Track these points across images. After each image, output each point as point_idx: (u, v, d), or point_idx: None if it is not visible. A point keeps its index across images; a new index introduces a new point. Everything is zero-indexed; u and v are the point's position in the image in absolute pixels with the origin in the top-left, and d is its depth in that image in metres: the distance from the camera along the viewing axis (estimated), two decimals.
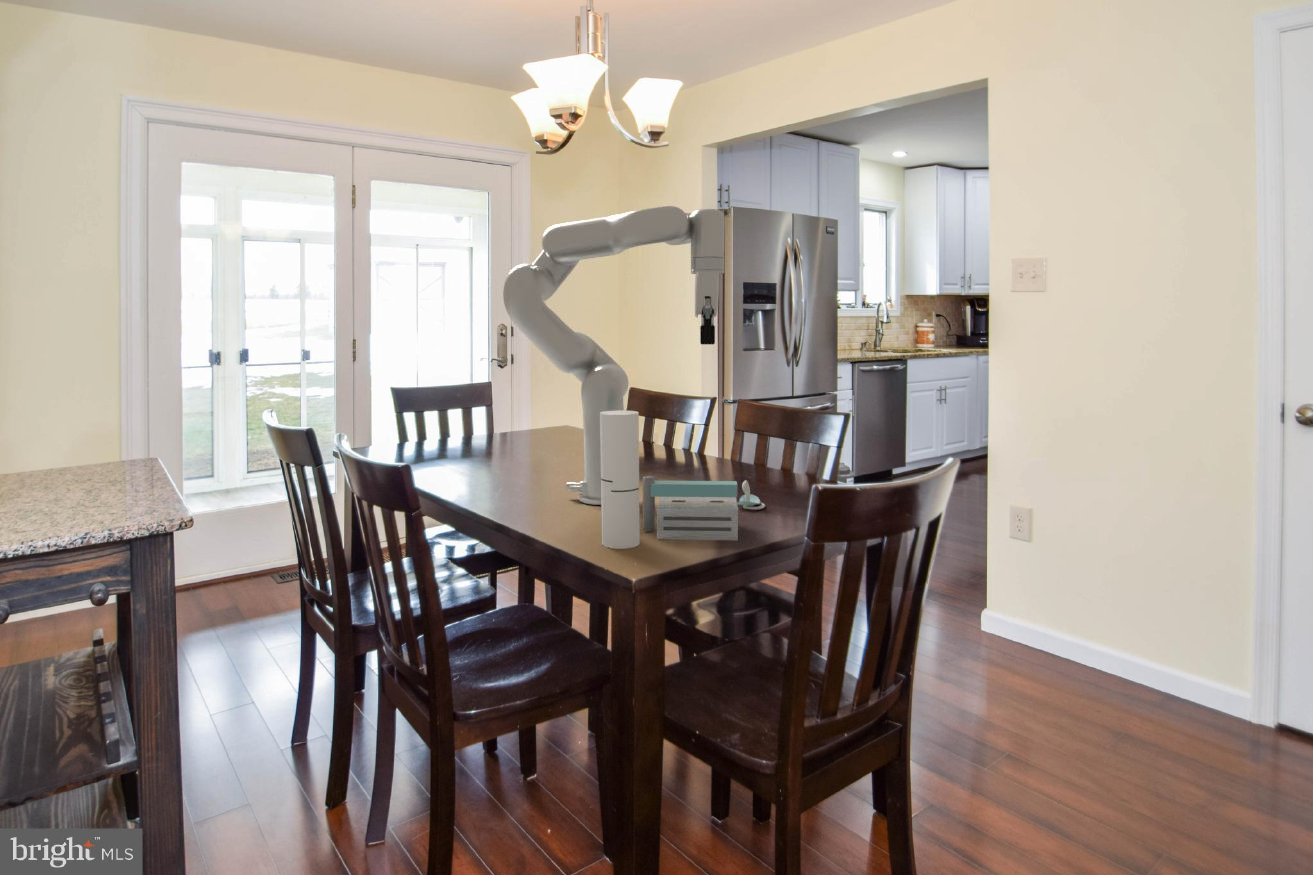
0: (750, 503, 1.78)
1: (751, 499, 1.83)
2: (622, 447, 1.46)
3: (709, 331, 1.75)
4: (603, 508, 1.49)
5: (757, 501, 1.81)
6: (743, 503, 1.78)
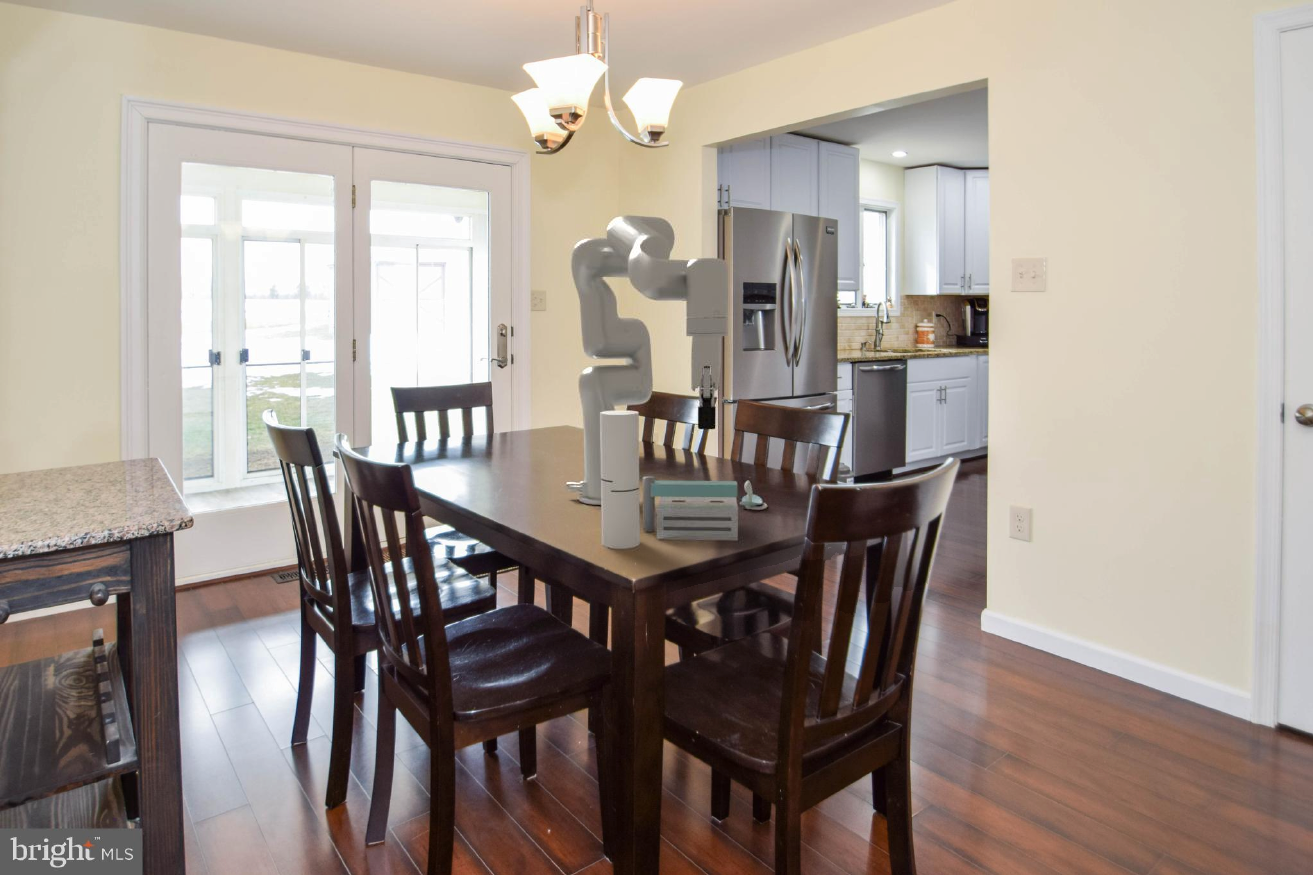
0: (752, 503, 1.77)
1: (753, 499, 1.83)
2: (622, 447, 1.46)
3: (708, 414, 1.46)
4: (603, 508, 1.49)
5: (759, 501, 1.81)
6: (745, 503, 1.78)
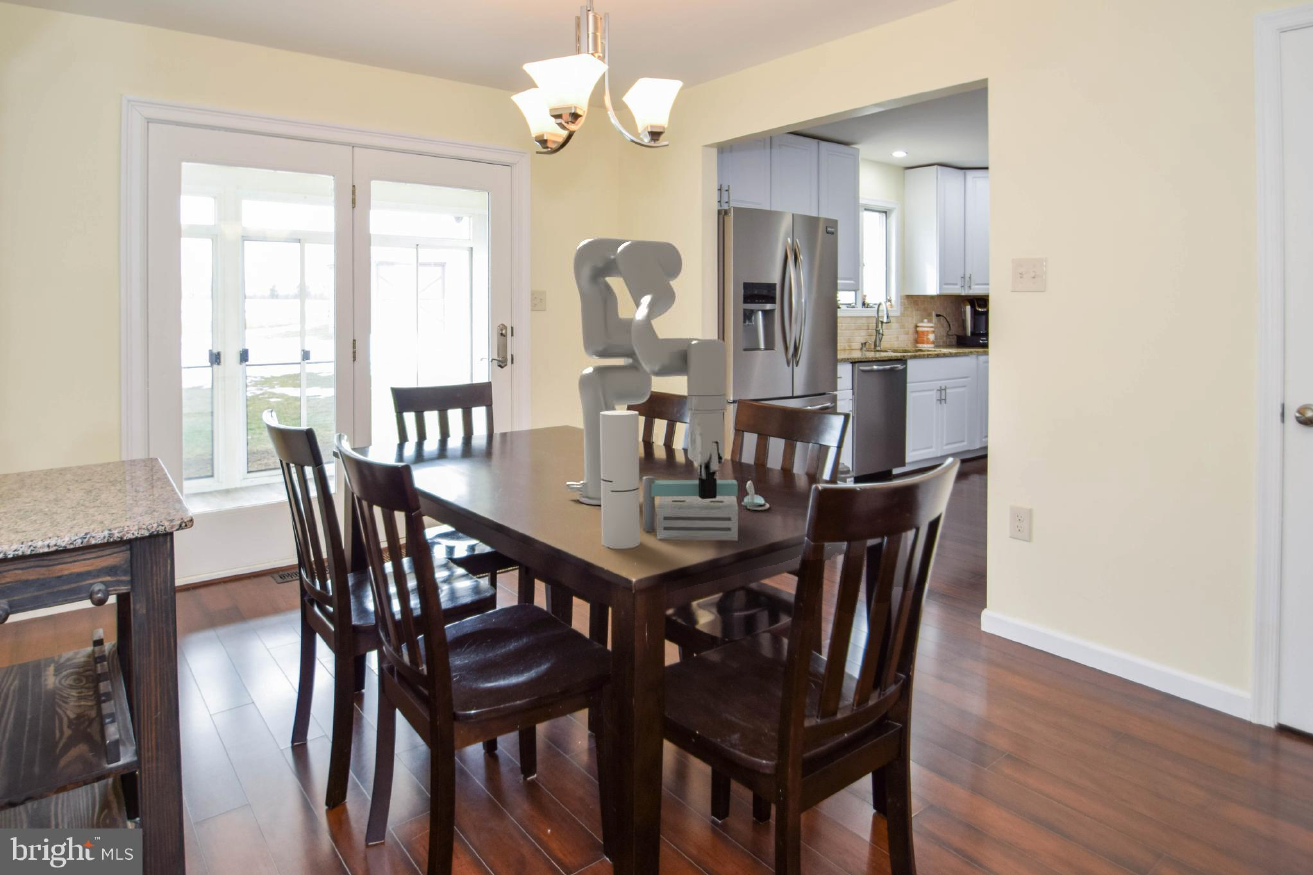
0: (755, 503, 1.77)
1: (755, 499, 1.82)
2: (622, 447, 1.46)
3: (711, 484, 1.54)
4: (603, 508, 1.49)
5: (761, 501, 1.81)
6: (747, 503, 1.78)
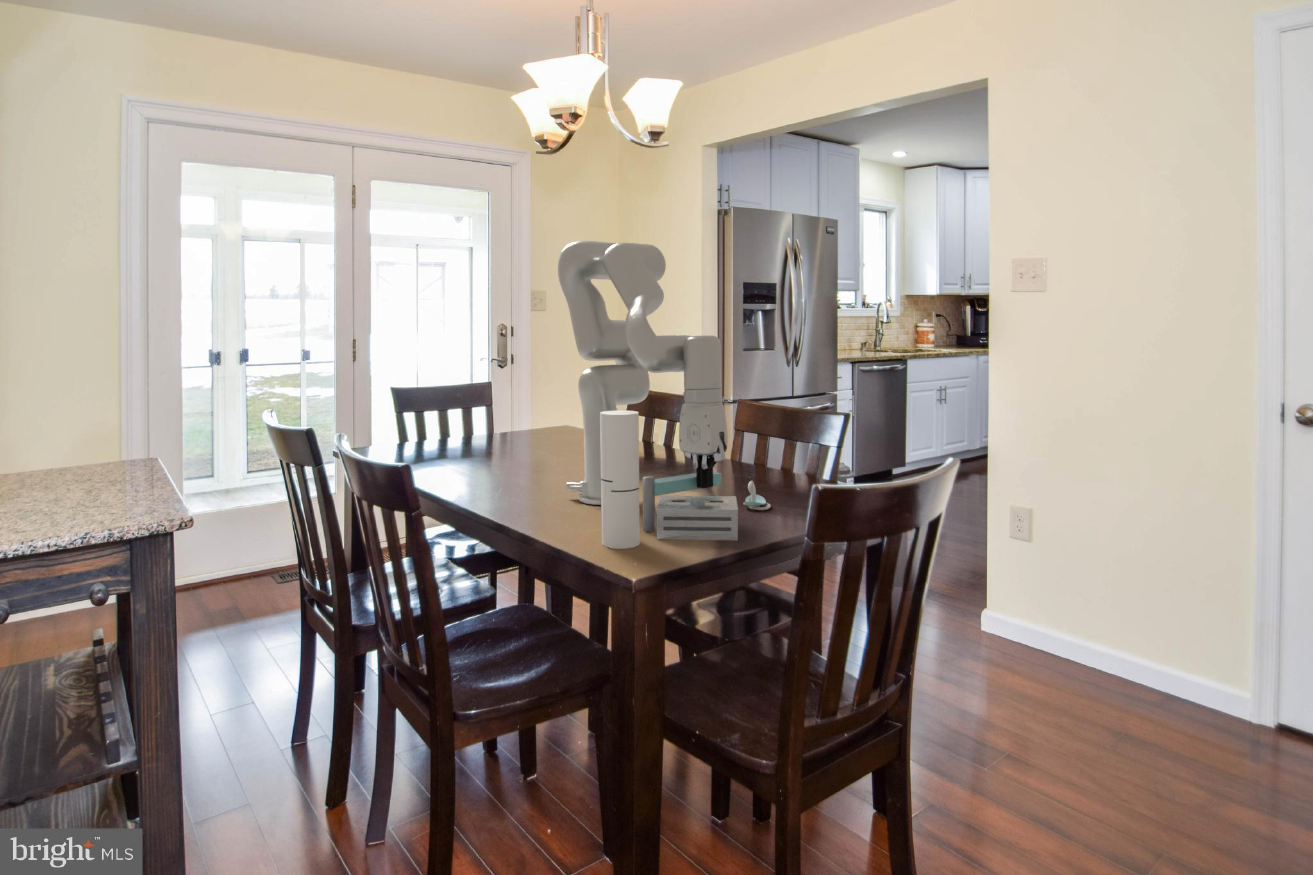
0: (756, 503, 1.77)
1: (757, 499, 1.82)
2: (622, 447, 1.46)
3: (711, 473, 1.62)
4: (603, 508, 1.49)
5: (763, 501, 1.81)
6: (749, 503, 1.77)
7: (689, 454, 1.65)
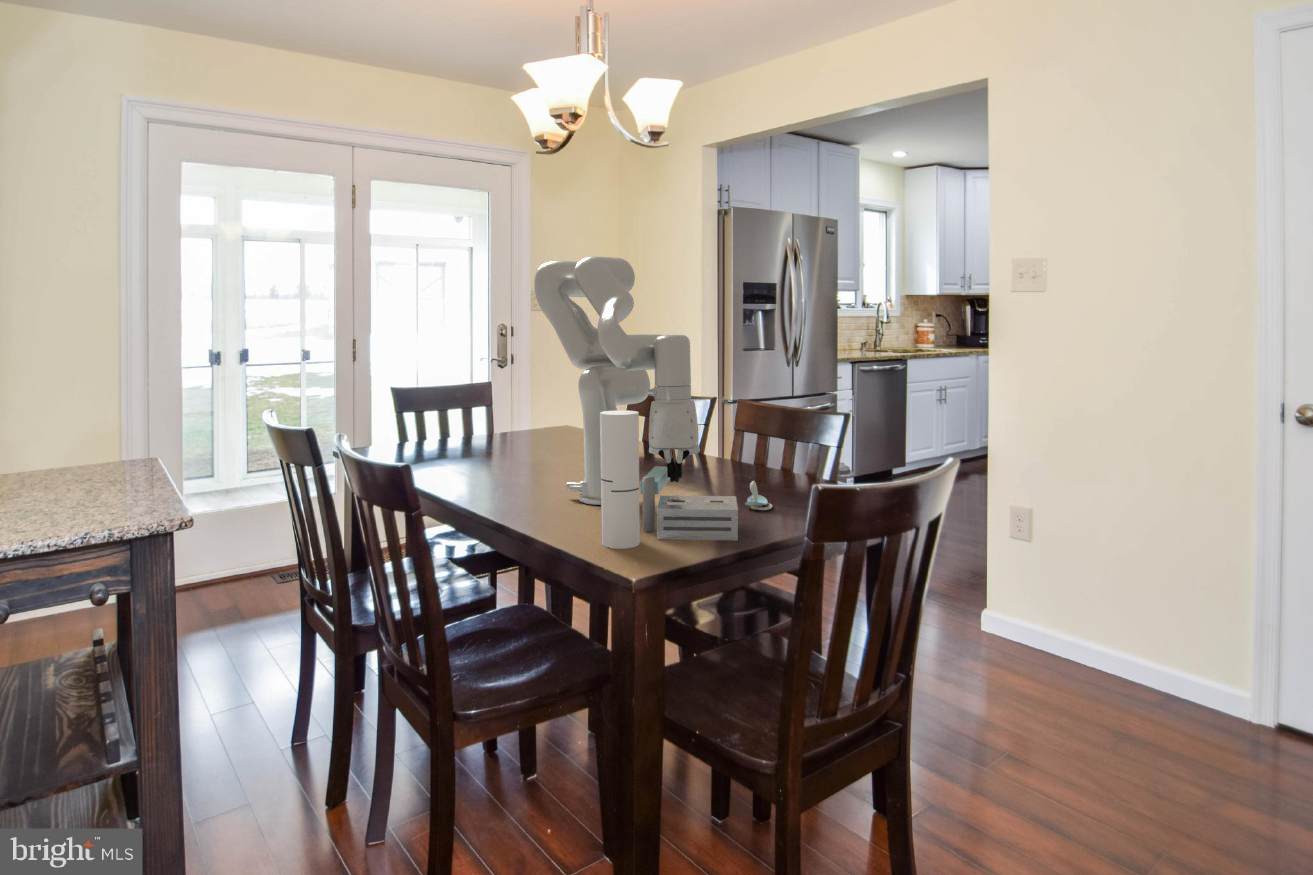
0: (758, 504, 1.77)
1: (759, 500, 1.82)
2: (622, 447, 1.46)
3: (681, 467, 1.69)
4: (603, 508, 1.49)
5: (765, 502, 1.81)
6: (751, 504, 1.77)
7: (655, 451, 1.69)
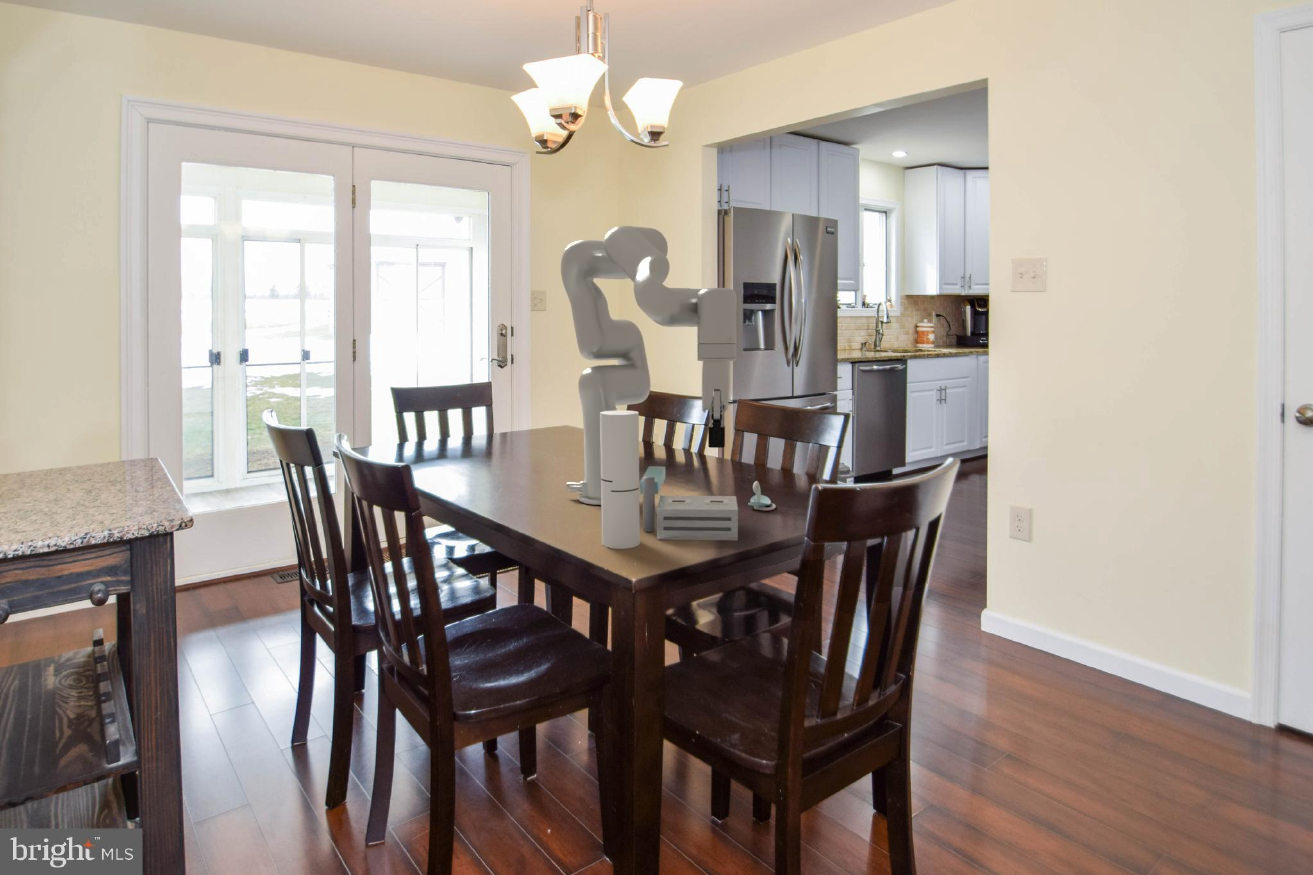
0: (761, 504, 1.77)
1: (762, 500, 1.82)
2: (622, 447, 1.46)
3: (718, 433, 1.55)
4: (603, 508, 1.49)
5: (768, 502, 1.80)
6: (754, 504, 1.77)
7: None
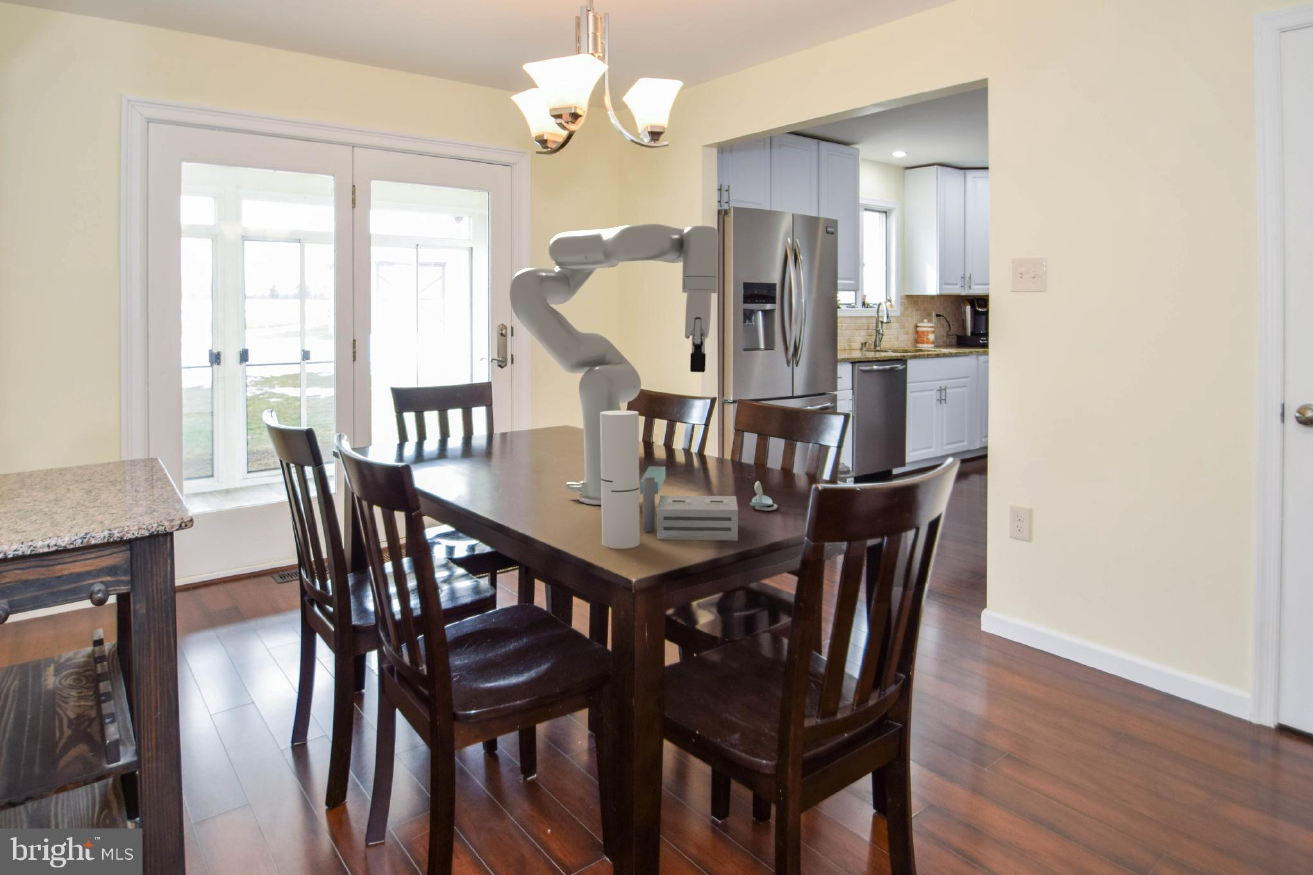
0: (763, 504, 1.77)
1: (763, 500, 1.82)
2: (622, 447, 1.46)
3: (699, 359, 1.72)
4: (603, 508, 1.49)
5: (769, 502, 1.80)
6: (756, 504, 1.77)
7: None
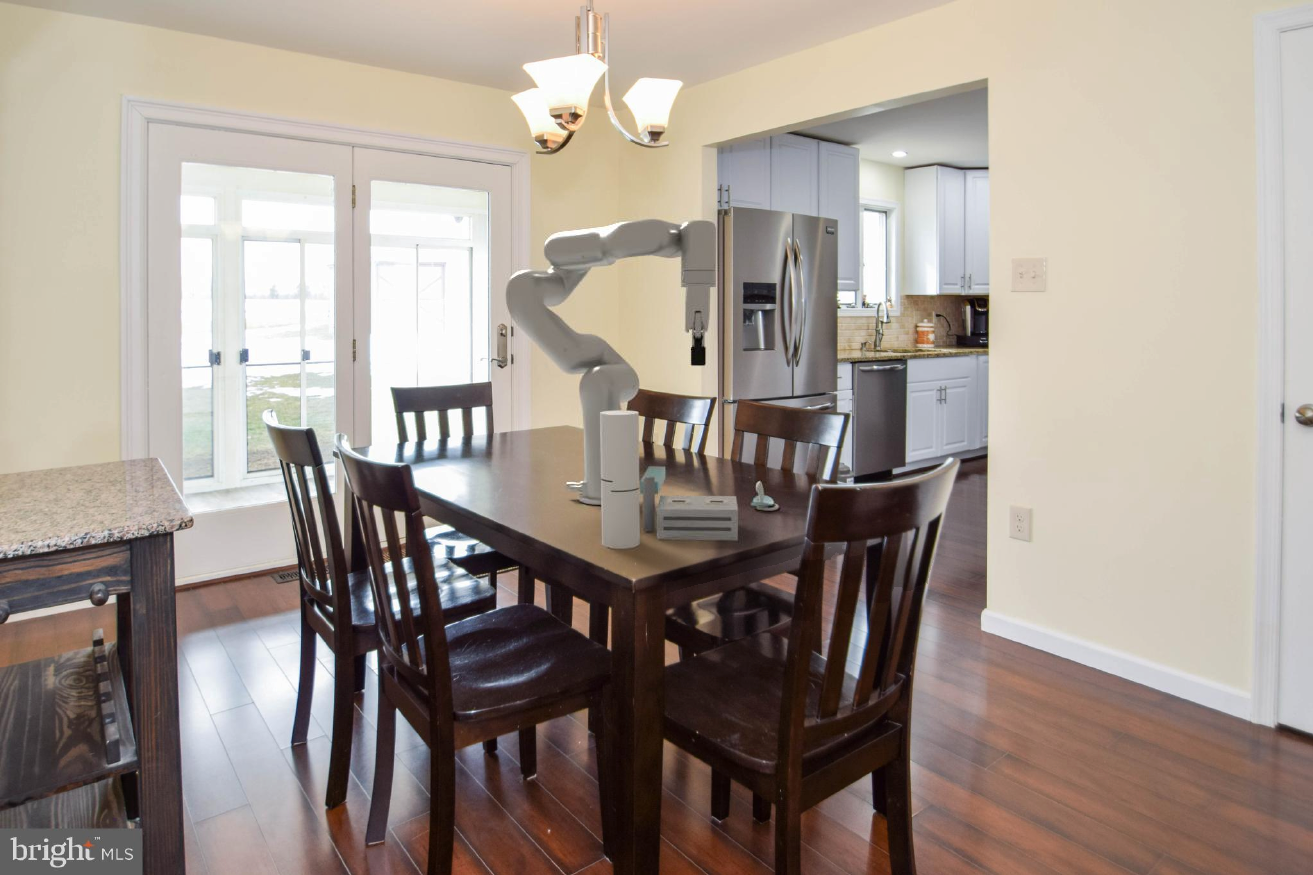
0: (764, 504, 1.77)
1: (765, 500, 1.82)
2: (622, 447, 1.46)
3: (700, 352, 1.73)
4: (603, 508, 1.49)
5: (771, 502, 1.80)
6: (757, 504, 1.77)
7: None
